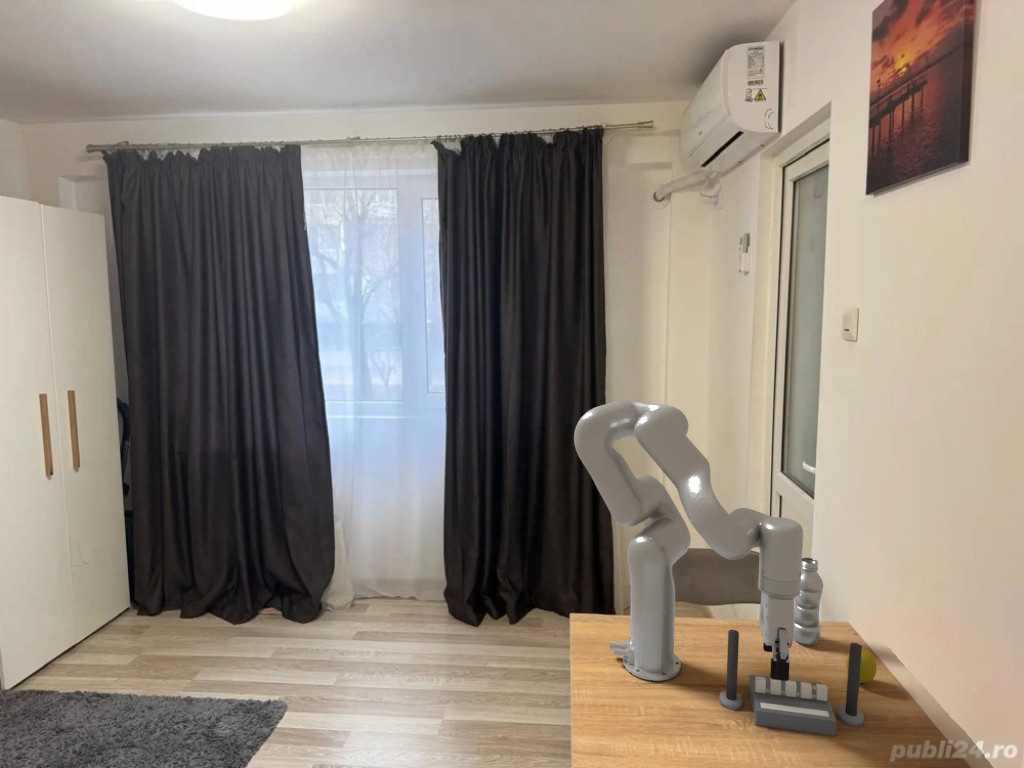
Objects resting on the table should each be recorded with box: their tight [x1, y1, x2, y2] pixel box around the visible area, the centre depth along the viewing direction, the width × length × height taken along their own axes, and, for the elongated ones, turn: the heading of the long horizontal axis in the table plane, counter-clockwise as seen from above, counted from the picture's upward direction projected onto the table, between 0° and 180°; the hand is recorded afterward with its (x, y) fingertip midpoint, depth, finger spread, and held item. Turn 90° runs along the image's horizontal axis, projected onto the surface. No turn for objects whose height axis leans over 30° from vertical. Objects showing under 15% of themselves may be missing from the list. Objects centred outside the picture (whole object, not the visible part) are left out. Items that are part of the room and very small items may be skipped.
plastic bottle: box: [793, 557, 824, 646], centre depth 150 cm, size 6×7×20 cm
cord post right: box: [837, 642, 865, 727], centre depth 123 cm, size 4×4×15 cm
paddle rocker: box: [755, 676, 829, 701], centre depth 126 cm, size 13×1×3 cm, turn 76°
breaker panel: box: [748, 674, 837, 737], centre depth 127 cm, size 14×12×3 cm
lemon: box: [846, 646, 877, 684], centre depth 135 cm, size 6×6×8 cm
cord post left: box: [719, 629, 744, 711], centre depth 128 cm, size 4×4×15 cm
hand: (775, 664), depth 126 cm, fingers open, 9 cm apart
